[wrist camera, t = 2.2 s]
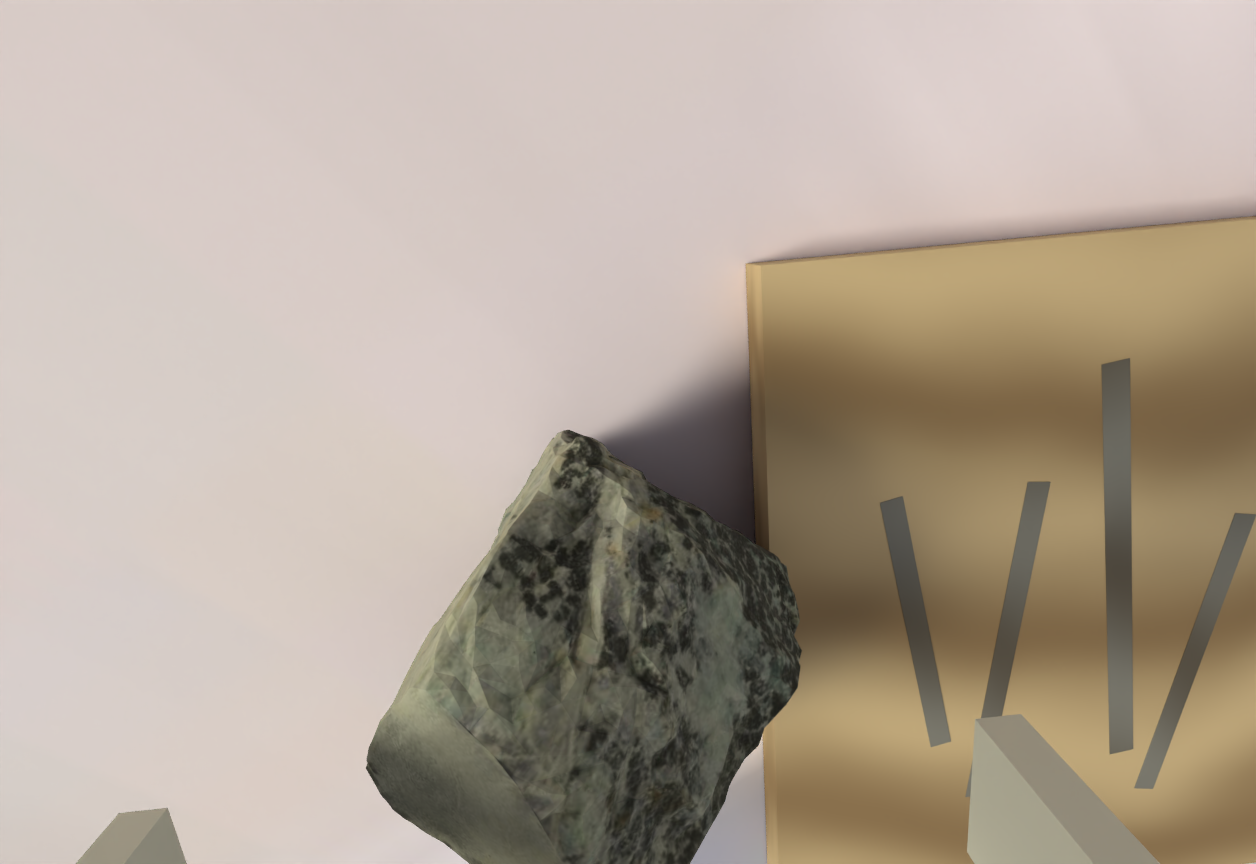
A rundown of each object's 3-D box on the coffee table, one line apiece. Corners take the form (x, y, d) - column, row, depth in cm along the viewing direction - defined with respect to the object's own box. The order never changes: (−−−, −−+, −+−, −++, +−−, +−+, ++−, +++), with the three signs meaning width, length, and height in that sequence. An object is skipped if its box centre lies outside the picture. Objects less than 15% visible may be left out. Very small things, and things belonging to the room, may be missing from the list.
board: (745, 263, 16) (761, 265, 15) (1362, 205, 17) (1436, 202, 15) (767, 876, 22) (780, 921, 20) (1229, 820, 22) (1273, 860, 21)
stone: (756, 1144, 10) (452, 637, 7) (413, 901, 17) (180, 587, 14) (909, 681, 17) (787, 319, 14) (620, 640, 23) (495, 389, 20)
